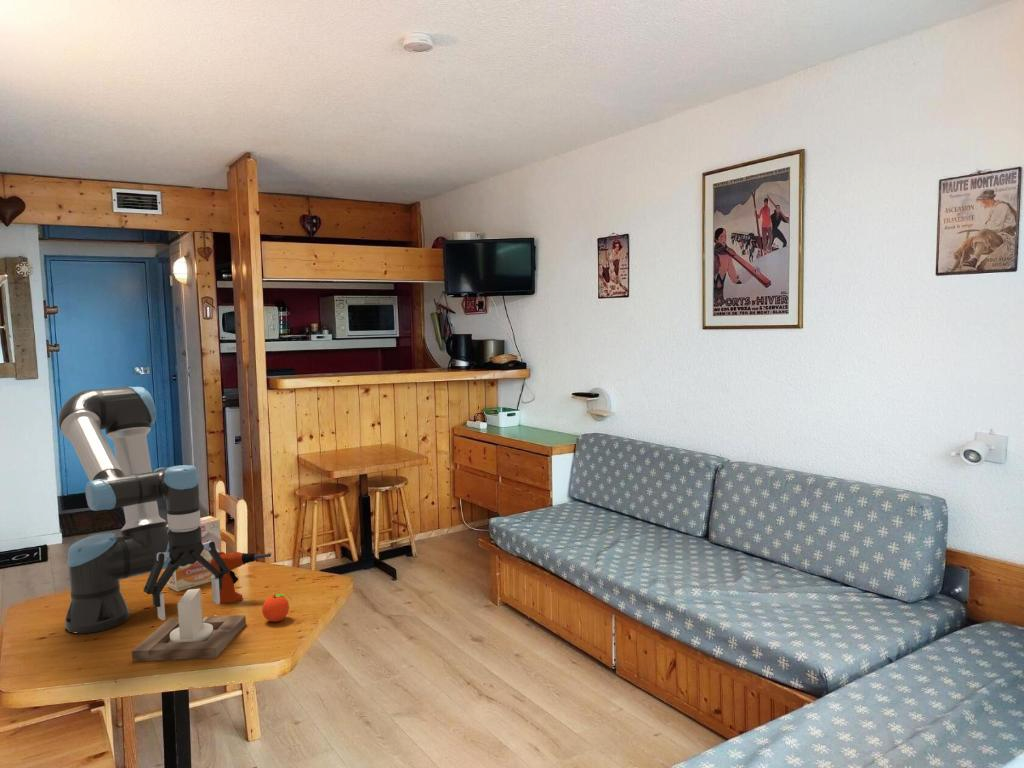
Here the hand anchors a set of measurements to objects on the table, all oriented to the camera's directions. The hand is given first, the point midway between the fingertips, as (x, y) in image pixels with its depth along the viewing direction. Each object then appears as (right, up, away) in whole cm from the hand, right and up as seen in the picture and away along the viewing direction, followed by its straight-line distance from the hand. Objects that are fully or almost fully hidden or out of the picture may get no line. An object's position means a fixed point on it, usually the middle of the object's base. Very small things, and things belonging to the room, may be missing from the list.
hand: (189, 610), depth 182 cm
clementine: (+18, -7, +13) cm, 23 cm away
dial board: (0, -8, 0) cm, 8 cm away
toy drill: (+3, -6, +28) cm, 29 cm away
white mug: (0, -7, +2) cm, 7 cm away
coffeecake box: (-18, -6, +45) cm, 49 cm away
